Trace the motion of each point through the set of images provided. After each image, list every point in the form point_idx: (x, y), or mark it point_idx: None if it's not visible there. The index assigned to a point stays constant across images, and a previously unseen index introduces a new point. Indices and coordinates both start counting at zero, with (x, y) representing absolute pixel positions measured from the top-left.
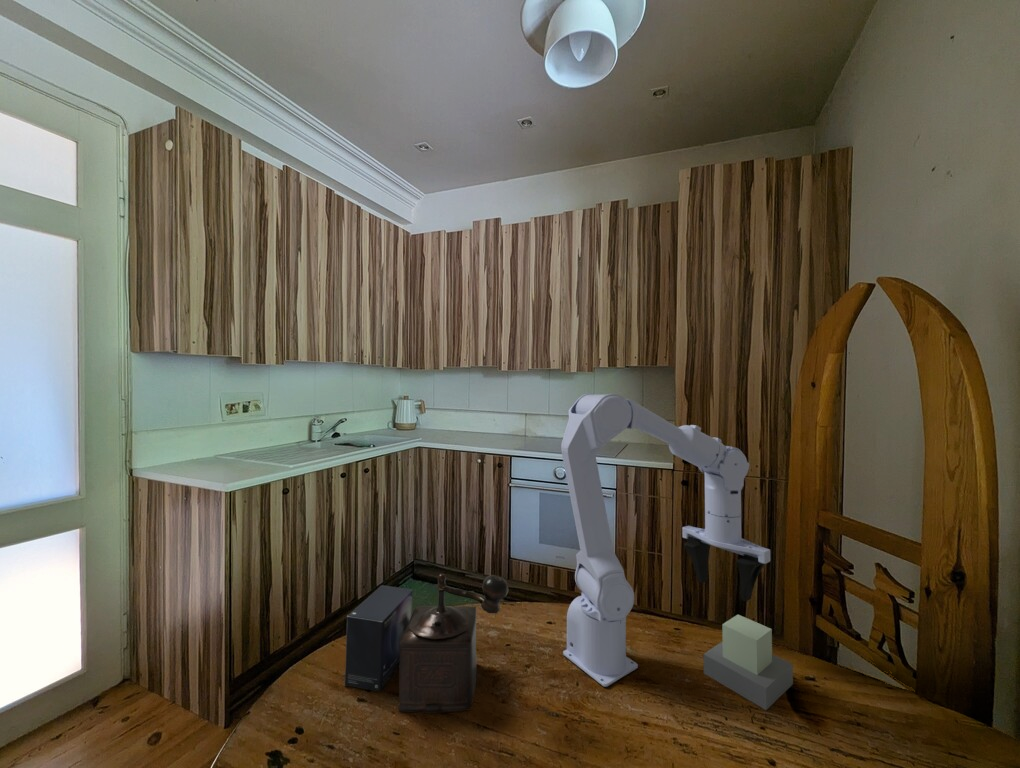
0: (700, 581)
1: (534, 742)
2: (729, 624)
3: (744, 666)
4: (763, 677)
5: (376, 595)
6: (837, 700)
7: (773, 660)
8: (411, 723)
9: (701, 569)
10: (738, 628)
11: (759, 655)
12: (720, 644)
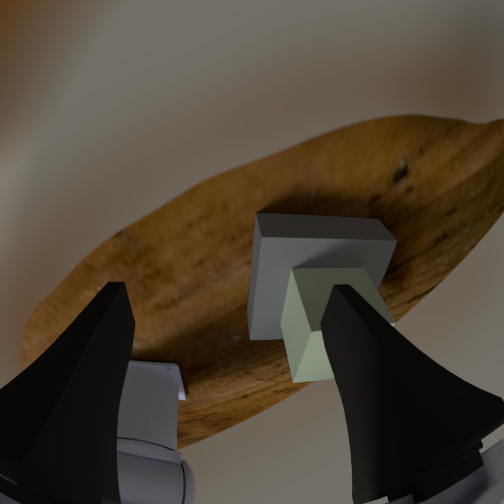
0: (132, 333)
1: (203, 432)
2: (306, 373)
3: None
4: None
5: None
6: (431, 205)
7: (365, 260)
8: None
9: (117, 374)
10: (327, 371)
11: None
12: (259, 296)
